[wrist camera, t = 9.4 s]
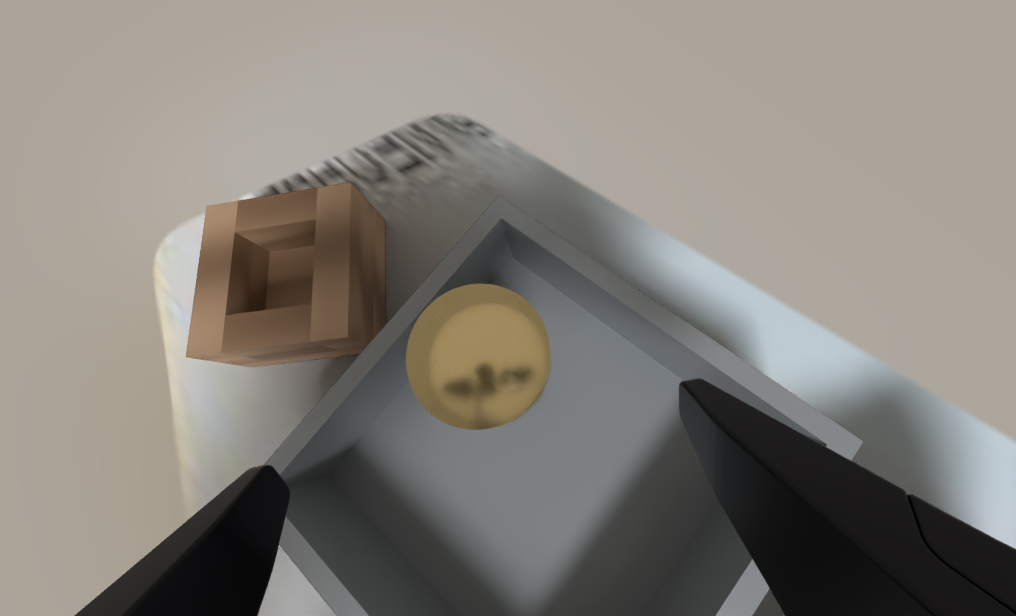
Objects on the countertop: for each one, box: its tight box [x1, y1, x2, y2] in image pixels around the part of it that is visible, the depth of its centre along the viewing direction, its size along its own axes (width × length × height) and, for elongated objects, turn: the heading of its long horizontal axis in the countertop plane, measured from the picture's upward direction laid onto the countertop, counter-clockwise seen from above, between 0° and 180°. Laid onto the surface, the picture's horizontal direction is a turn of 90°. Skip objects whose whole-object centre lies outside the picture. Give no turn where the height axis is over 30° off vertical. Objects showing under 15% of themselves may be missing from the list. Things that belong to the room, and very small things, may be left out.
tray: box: [264, 196, 864, 616], centre depth 16 cm, size 16×16×5 cm
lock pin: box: [406, 283, 551, 430], centre depth 15 cm, size 4×4×10 cm
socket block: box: [186, 182, 386, 367], centre depth 21 cm, size 8×8×4 cm
